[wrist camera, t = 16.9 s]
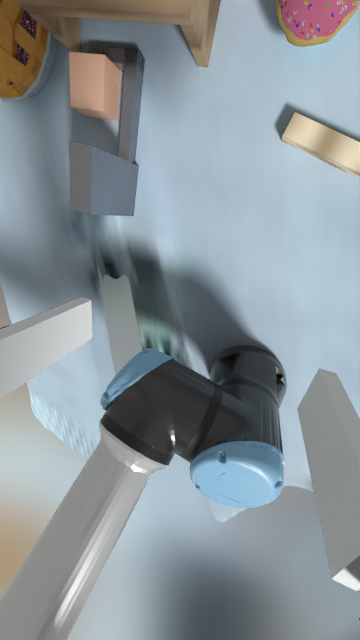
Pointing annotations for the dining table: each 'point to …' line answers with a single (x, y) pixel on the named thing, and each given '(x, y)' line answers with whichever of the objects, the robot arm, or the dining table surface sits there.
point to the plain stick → (323, 144)
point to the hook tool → (102, 167)
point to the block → (94, 85)
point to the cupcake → (313, 19)
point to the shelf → (129, 18)
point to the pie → (23, 53)
